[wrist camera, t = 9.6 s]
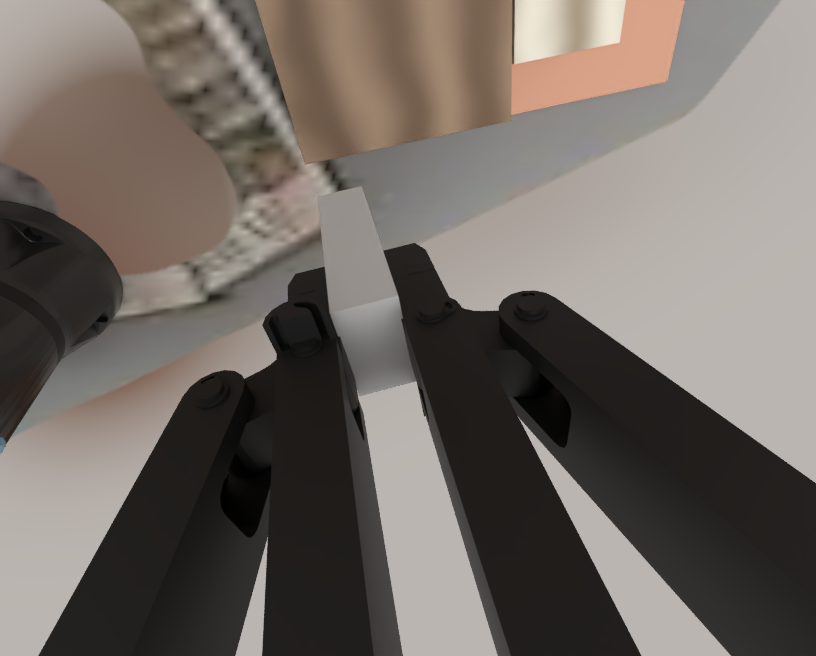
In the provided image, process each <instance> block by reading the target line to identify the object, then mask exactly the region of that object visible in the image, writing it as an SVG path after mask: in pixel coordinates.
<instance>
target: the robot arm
mask: <svg viewBox="0 0 816 656" xmlns="http://www.w3.org/2000/svg"><path fill="white" fill-rule="evenodd" d="M318 206H319V216H320V225H321V235H322V244H323V254H324V264H325V267H322V268H318V269H314V270H309V271H305V272H301V273H297V274H295V276H294V277H293V279H292V280H291V282H290V283H289V285H288V302H285V303H283V304H281V305H279V306H278V307H276V308H275V309H273V310H272V311H271V312H270V313H269V314H268V315H267V316H266V317H265V320H264V323H263V327H264V329H265V331H266V333H267V335H268V337H269V339H270V341H271V343H272V345H273V347H274V349H275V351H276V353H277V360H276V361H274V362H273V363H272V364H271V365H270V366H268V367H266V368H265V369H263V370H261V371H260V372H257V373H255V374H254V375H251V376H249V377H248V378H245V379H244V378H243V376H242V375H241V374H239V373H237V372H235V371H227V370H224V371H220V372H215V373H212V374H210V375H208V376H205V377H203V378H201V379H200V380H199V381H197V382H196V383H195V384H194V385H192V386H191V387H190V388H189V389H188V391H187V392H186V393H185V394H184V396H183V397H182V399H181V401H180V403H179V404H178V406H177V408H176V410H175V412H174V413H173V415H172V417H171V419H170V421H169V423H168V424H167V426H166V428H165V429H164V431H163V433H162V435H161V437H160V438H159V440H158V442H157V444H156V446H155V447H154V450H153V451H152V453H151V455H150V456H149V458H148V460H147V462H146V464H145V465H144V467H143V469H142V471H141V473H140V474H139V476H138V478H137V480H136V482H135V483H134V485H133V487H132V489H131V491H130V492H129V494H128V496H127V498H126V500H125V501H124V503H123V505H122V507H121V509H120V510H119V512H118V514H117V516H116V518H115V519H114V521H113V523H112V525H111V527H110V528H109V530H108V532H107V534H106V535H105V538H104V539H103V541H102V543H101V544H100V546H99V548H98V550H97V552H96V553H95V555H94V557H93V559H92V561H91V563H90V564H89V566H88V568H87V570H86V571H85V573H84V575H83V577H82V579H81V580H80V582H79V584H78V586H77V588H76V590H75V591H74V593H73V595H72V597H71V599H70V600H69V602H68V604H67V606H66V607H65V609H64V611H63V613H62V615H61V616H60V618H59V620H58V622H57V624H56V626H55V627H54V629H53V631H52V632H51V634H50V636H49V638H48V640H47V641H46V643H45V645H44V647H43V649H42V650H41V652H40V654H39V656H235V654H236V650H237V647H238V643H239V640H240V636H241V632H242V629H243V625H244V621H245V617H246V614H247V610H248V607H249V603H250V599H251V596H252V592H253V588H254V585H255V581H256V577H257V574H258V570H259V566H260V563H261V559H262V555H263V551H264V548H265V544H266V541H267V537H268V548H267V568H266V589H265V610H264V612H265V613H264V631H263V652H262V656H403V654H402V649H401V642H400V636H399V630H398V624H397V618H396V611H395V605H394V599H393V593H392V587H391V581H390V574H389V568H388V563H387V556H386V550H385V544H384V537H383V531H382V525H381V519H380V513H379V507H378V501H377V494H376V488H375V483H374V476H373V470H372V464H371V458H370V451H369V445H368V439H367V433H366V427H365V421H364V415H363V411H362V408H361V405H360V403H359V400H358V394H357V390H358V393H359V396H362V395H366V394H369V393H373V392H377V391H381V390H385V389H388V388H392V387H396V386H400V385H403V384H407V383H410V382H415V381H417V385H418V389H419V394H420V399H421V403H422V408H423V413H424V416H426V418H427V422H428V425H429V428H430V432H431V435H432V438H433V442H434V445H435V448H436V451H437V455H438V458H439V462H440V465H441V468H442V472H443V475H444V478H445V481H446V485H447V488H448V491H449V495H450V498H451V501H452V505H453V508H454V511H455V515H456V518H457V521H458V525H459V528H460V531H461V535H462V538H463V541H464V545H465V548H466V551H467V555H468V558H469V561H470V565H471V568H472V571H473V574H474V578H475V581H476V584H477V588H478V591H479V594H480V598H481V601H482V604H483V608H484V611H485V614H486V618H487V621H488V624H489V628H490V631H491V634H492V638H493V641H494V644H495V648H496V651H497V654H498V656H641V654H640V652H639V650H638V648H637V646H636V644H635V643H634V641H633V639H632V637H631V635H630V633H629V631H628V629H627V627H626V625H625V623H624V621H623V619H622V617H621V615H620V613H619V612H618V610H617V608H616V606H615V604H614V602H613V600H612V598H611V596H610V594H609V592H608V590H607V588H606V587H605V585H604V583H603V581H602V579H601V577H600V575H599V573H598V571H597V569H596V567H595V565H594V563H593V561H592V559H591V558H590V555H589V554H588V551H587V550H586V548H585V546H584V544H583V542H582V540H581V538H580V536H579V534H578V532H577V530H576V528H575V526H574V524H573V522H572V521H571V519H570V517H569V515H568V513H567V511H566V509H565V507H564V505H563V503H562V501H561V499H560V497H559V495H558V494H557V491H556V490H555V488H554V486H553V484H552V482H551V480H550V478H549V476H548V474H547V472H546V470H545V468H544V466H543V464H542V463H541V460H540V458H539V457H538V455H537V453H536V451H535V449H534V447H533V445H532V443H531V441H530V439H529V437H528V435H527V433H526V431H525V430H524V427H523V425H522V424H521V422H520V420H519V418H520V419H521V420H522V421H523V422H524V424H525V425H526V426H527V427H528V428H529V429H530V430H531V431H532V432H533V434H534V435H535V436H536V437H537V438H538V439H539V440H540V442H542V444H543V445H544V446H545V447H546V448H547V449H548V451H549V452H550V453H551V454H552V455H553V456H554V457H555V458H556V460H558V462H559V463H560V464H561V465H562V466H563V467H564V468H565V470H566V471H567V472H568V473H569V474H570V475H571V476H572V477H573V479H574V480H575V481H576V482H577V483H578V484H579V485H580V486H581V487H582V489H583V490H584V491H585V492H586V493H587V494H588V495H589V497H590V498H591V499H592V500H593V501H594V502H595V503H596V504H597V506H598V507H599V508H600V509H601V510H602V511H603V512H604V513H605V515H606V516H608V518H609V519H610V520H611V521H612V522H613V523H614V525H615V526H616V527H617V528H618V529H619V530H620V531H621V532H622V534H623V535H624V536H625V537H626V538H627V539H628V540H629V541H630V542H631V544H632V545H633V546H634V547H635V548H636V549H637V550H638V552H640V554H641V555H642V556H643V557H644V558H645V559H646V561H647V562H648V563H649V564H650V565H651V566H652V567H653V568H654V570H655V571H656V572H657V573H658V574H659V575H660V576H661V577H662V578H663V580H664V581H665V582H666V583H667V584H668V585H669V586H670V587H671V589H672V590H673V591H674V592H675V593H676V594H677V595H678V596H679V597H680V599H681V600H682V601H683V602H684V603H685V604H686V605H687V606H688V608H689V609H690V610H691V611H692V612H693V613H694V614H695V616H696V617H697V618H698V619H699V620H700V621H701V622H702V623H703V624H704V626H705V627H706V628H707V629H708V630H709V631H710V632H711V634H712V635H713V636H714V637H715V638H716V639H717V640H718V641H719V642H720V644H721V645H722V646H723V647H724V648H725V649H726V650H727V651H728V653H729V654H730V655H731V656H816V483H815V482H813V481H812V480H810V479H809V478H808V477H806V476H805V475H803V474H802V473H801V472H799V471H798V470H796V469H795V468H793V467H792V466H791V465H789V464H788V463H787V462H785V461H784V460H782V459H781V458H780V457H778V456H777V455H775V454H774V453H772V452H771V451H770V450H768V449H767V448H766V447H764V446H763V445H761V444H760V443H758V442H757V441H756V440H754V439H753V438H752V437H750V436H749V435H747V434H746V433H744V432H743V431H742V430H740V429H739V428H737V427H736V426H735V425H733V424H732V423H730V422H729V421H728V420H726V419H725V418H723V417H722V416H721V415H719V414H718V413H716V412H715V411H714V410H712V409H711V408H709V407H708V406H707V405H705V404H704V403H702V402H701V401H700V400H698V399H697V398H695V397H694V396H693V395H691V394H690V393H688V392H687V391H686V390H684V389H683V388H681V387H680V386H679V385H677V384H676V383H674V382H673V381H672V380H670V379H668V378H667V377H666V376H664V375H663V374H662V373H660V372H659V371H658V370H656V369H655V368H653V367H652V366H650V365H649V364H648V363H646V362H645V361H643V360H642V359H641V358H639V357H638V356H637V355H635V354H634V353H632V352H631V351H630V350H628V349H626V348H625V347H624V346H622V345H621V344H620V343H618V342H617V341H615V340H614V339H613V338H611V337H610V336H608V335H607V334H606V333H604V332H603V331H601V330H600V329H599V328H597V327H596V326H594V325H593V324H592V323H590V322H589V321H587V320H586V319H585V318H583V317H582V316H580V315H579V314H578V313H576V312H575V311H573V310H572V309H571V308H569V307H568V306H566V305H565V304H564V303H562V302H561V301H559V300H558V299H556V298H555V297H553V296H551V295H549V294H547V293H544V292H538V291H521V292H518V293H514V294H511V295H509V296H508V297H506V298H505V299H503V301H502V302H501V304H500V306H499V311H472V310H467V309H464V308H462V307H461V306H460V305H459V304H458V302H457V301H456V300H454V299H452V298H450V297H449V296H448V294H447V292H446V290H445V288H444V286H443V284H442V282H441V280H440V278H439V276H438V274H437V272H436V270H435V268H434V266H433V264H432V262H431V260H430V258H429V256H428V254H427V252H426V250H425V249H423V248H422V247H420V246H419V245H417V244H415V243H413V244H409V245H405V246H401V247H397V248H393V249H389V250H385V251H383V249H382V246H381V243H380V240H379V237H378V234H377V231H376V228H375V225H374V222H373V219H372V216H371V213H370V210H369V207H368V204H367V201H366V198H365V195H364V192H363V189H362V186H360V187H356V188H352V189H347V190H343V191H339V192H335V193H331V194H327V195H322V196H318ZM121 300H122V285H121V280H120V277H119V274H118V272H117V270H116V268H115V266H114V264H113V263H112V261H111V260H110V258H109V257H108V256H107V254H106V253H105V252H104V251H103V250H102V248H101V247H100V246H98V244H97V243H96V242H94V241H93V240H92V239H91V238H90V237H88V236H87V235H86V234H85V233H83V232H82V231H81V230H79V229H78V228H76V227H75V226H73V225H71V224H70V223H68V222H66V221H64V220H62V219H61V218H58V217H56V216H54V215H52V214H50V213H47V212H45V211H42V210H39V209H36V208H33V207H30V206H26V205H22V204H17V203H11V202H2V201H0V454H1V453H2V452H3V449H4V447H5V445H6V443H7V442H8V440H9V439H10V437H11V436H12V434H13V433H14V431H15V430H16V428H17V426H18V425H19V423H20V422H21V420H22V419H23V417H24V416H25V414H26V413H27V411H28V409H29V408H30V406H31V405H32V403H33V402H34V400H35V399H36V397H37V396H38V394H39V392H40V391H41V389H42V388H43V386H44V385H45V383H46V382H47V380H48V379H49V377H50V376H51V374H52V372H53V371H54V369H55V368H56V366H57V365H58V363H59V362H60V360H61V359H62V358H64V357H65V356H67V355H68V354H70V353H71V352H73V351H75V350H76V349H78V348H79V347H81V346H82V345H84V344H86V343H87V342H89V341H90V340H92V339H93V338H95V337H97V336H98V335H99V334H100V333H102V332H103V331H104V330H105V329H106V328H107V326H108V325H109V324H110V322H111V321H112V319H113V317H114V316H115V314H116V313H117V311H118V309H119V307H120V304H121ZM518 417H519V418H518Z"/></svg>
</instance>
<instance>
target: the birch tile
mask: <svg viewBox="0 0 816 656" xmlns="http://www.w3.org/2000/svg"><path fill="white" fill-rule="evenodd" d="M625 3H626V0H512V64H519V63H524V62H528V61H533V60H538V59H543V58H548V57H552V56H557V55H562V54H567V53H572V52H576V51H581V50H586V49H591V48H596V47H600V46H605V45H610V44H615V43H620V37H621V30H622V23H623V16H624V10H625Z"/></svg>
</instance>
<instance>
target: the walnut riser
mask: <svg viewBox="0 0 816 656" xmlns="http://www.w3.org/2000/svg"><path fill="white" fill-rule="evenodd" d="M255 2H256V5H257V8H258V11H259V15H260V18H261V21H262V25H263V28H264V31H265V34H266V38H267V41H268V44H269V48H270V51H271V54H272V57H273V61H274V64H275V67H276V70H277V74H278V77H279V80H280V84H281V87H282V90H283V93H284V97H285V100H286V103H287V107H288V110H289V113H290V116H291V120H292V123H293V126H294V130H295V133H296V136H297V139H298V143H299V146H300V149H301V152H302V156H303V159H304V162H305V165H306V164H310V163H315V162H320V161H324V160H329V159H334V158H338V157H343V156H348V155H352V154H357V153H362V152H366V151H371V150H376V149H380V148H385V147H390V146H395V145H399V144H404V143H409V142H413V141H418V140H423V139H427V138H432V137H437V136H441V135H446V134H451V133H455V132H460V131H465V130H469V129H474V128H479V127H484V126H488V125H493V124H498V123H502V122H507V121H511V96H512V0H255Z"/></svg>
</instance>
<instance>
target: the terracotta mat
mask: <svg viewBox="0 0 816 656" xmlns="http://www.w3.org/2000/svg"><path fill="white" fill-rule="evenodd" d="M684 2H685V0H626V3H625V10H624V16H623V23H622V30H621V37H620V43H615V44H610V45H605V46H600V47H596V48H591V49H586V50H581V51H576V52H572V53H567V54H562V55H557V56H552V57H548V58H543V59H538V60H533V61H528V62H524V63H519V64H512V96H511V115H512V114H517V113H521V112H526V111H531V110H536V109H540V108H545V107H550V106H554V105H559V104H564V103H568V102H573V101H578V100H583V99H587V98H592V97H597V96H601V95H606V94H611V93H615V92H620V91H625V90H630V89H634V88H639V87H644V86H648V85H653V84H658V83H662V82H667V79H668V75H669V70H670V66H671V61H672V56H673V52H674V47H675V43H676V38H677V34H678V29H679V24H680V20H681V15H682V11H683V6H684Z"/></svg>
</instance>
